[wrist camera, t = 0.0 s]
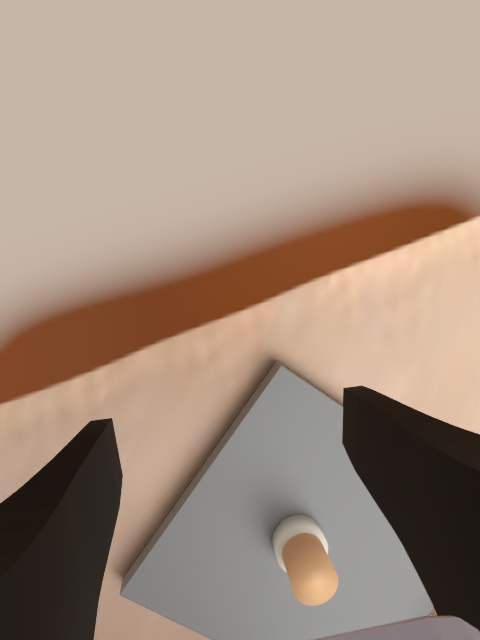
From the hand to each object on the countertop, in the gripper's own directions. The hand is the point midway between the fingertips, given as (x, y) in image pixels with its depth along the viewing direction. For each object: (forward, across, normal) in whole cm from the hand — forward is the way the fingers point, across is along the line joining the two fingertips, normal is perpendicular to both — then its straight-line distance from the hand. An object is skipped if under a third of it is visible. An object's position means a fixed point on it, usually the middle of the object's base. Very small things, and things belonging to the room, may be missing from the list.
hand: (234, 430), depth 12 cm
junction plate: (+8, -6, +14) cm, 17 cm away
